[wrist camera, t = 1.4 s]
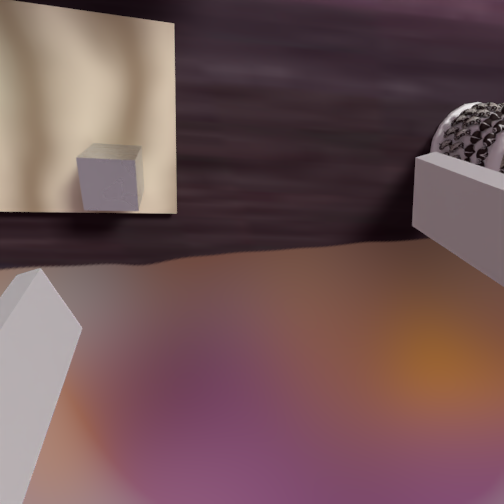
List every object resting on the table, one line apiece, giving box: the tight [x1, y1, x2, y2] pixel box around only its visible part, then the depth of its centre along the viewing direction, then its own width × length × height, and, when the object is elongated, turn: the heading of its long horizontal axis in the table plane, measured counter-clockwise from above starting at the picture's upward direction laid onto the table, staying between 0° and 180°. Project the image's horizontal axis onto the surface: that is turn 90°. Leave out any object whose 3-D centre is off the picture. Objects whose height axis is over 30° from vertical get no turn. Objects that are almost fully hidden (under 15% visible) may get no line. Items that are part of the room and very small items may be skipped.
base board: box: [0, 0, 177, 214], centre depth 27 cm, size 24×16×2 cm, turn 85°
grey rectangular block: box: [76, 143, 144, 211], centre depth 27 cm, size 4×4×6 cm
